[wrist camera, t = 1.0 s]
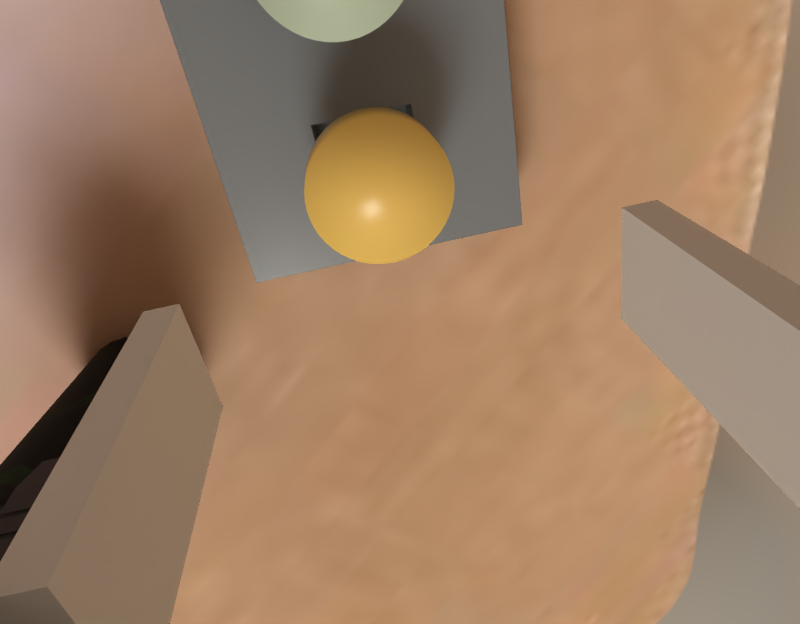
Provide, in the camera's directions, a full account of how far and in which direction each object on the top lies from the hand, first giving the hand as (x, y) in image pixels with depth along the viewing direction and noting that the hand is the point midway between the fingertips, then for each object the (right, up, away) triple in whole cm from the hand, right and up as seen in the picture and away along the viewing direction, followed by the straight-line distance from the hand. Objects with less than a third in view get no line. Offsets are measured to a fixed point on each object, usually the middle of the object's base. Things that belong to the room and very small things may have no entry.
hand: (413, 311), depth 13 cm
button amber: (-1, +6, +11) cm, 13 cm away
